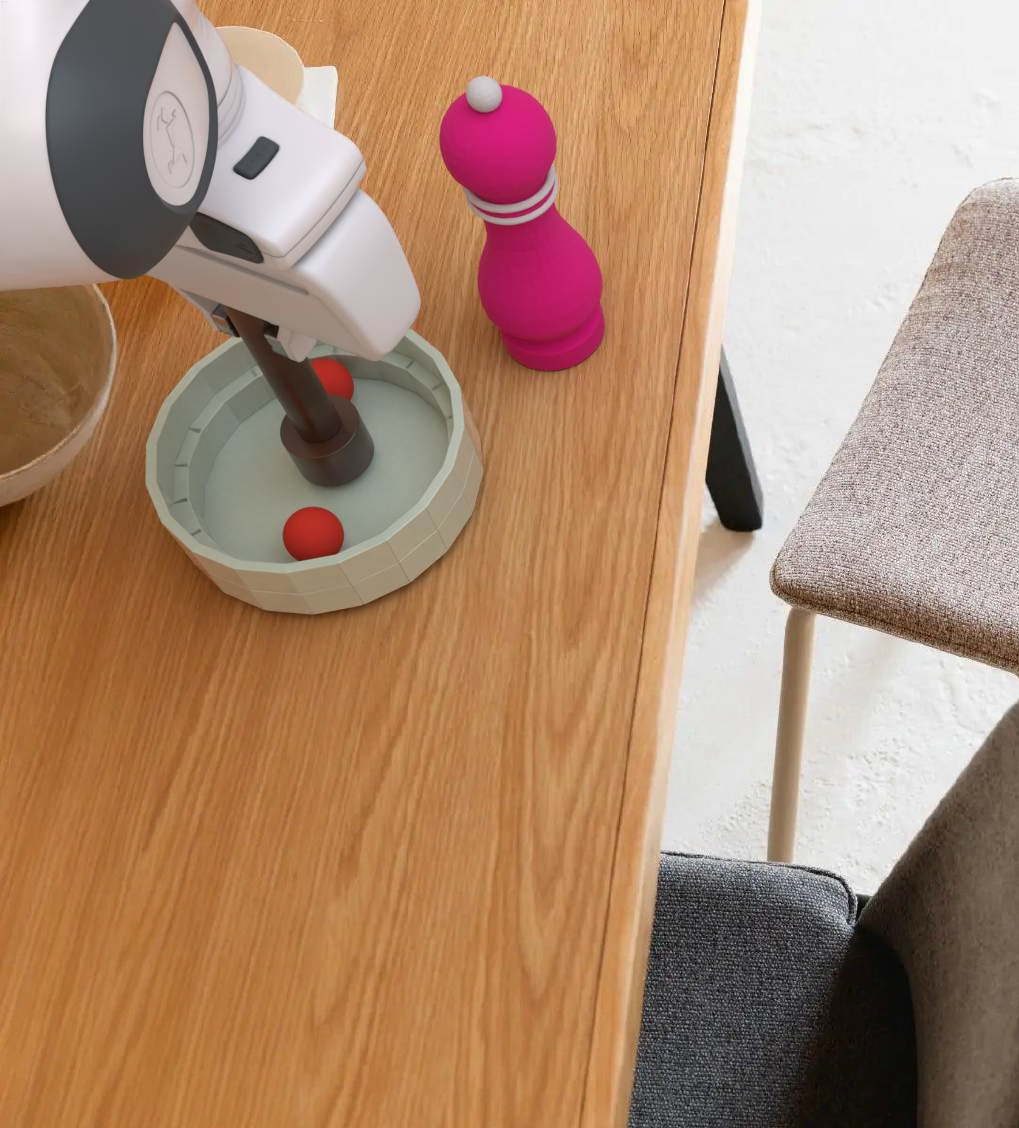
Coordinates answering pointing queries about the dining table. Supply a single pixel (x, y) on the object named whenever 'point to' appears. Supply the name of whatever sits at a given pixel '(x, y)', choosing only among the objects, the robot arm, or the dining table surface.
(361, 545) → the bowl
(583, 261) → the pepper mill
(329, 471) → the muddler
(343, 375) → the ball
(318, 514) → the ball
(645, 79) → the dining table surface
